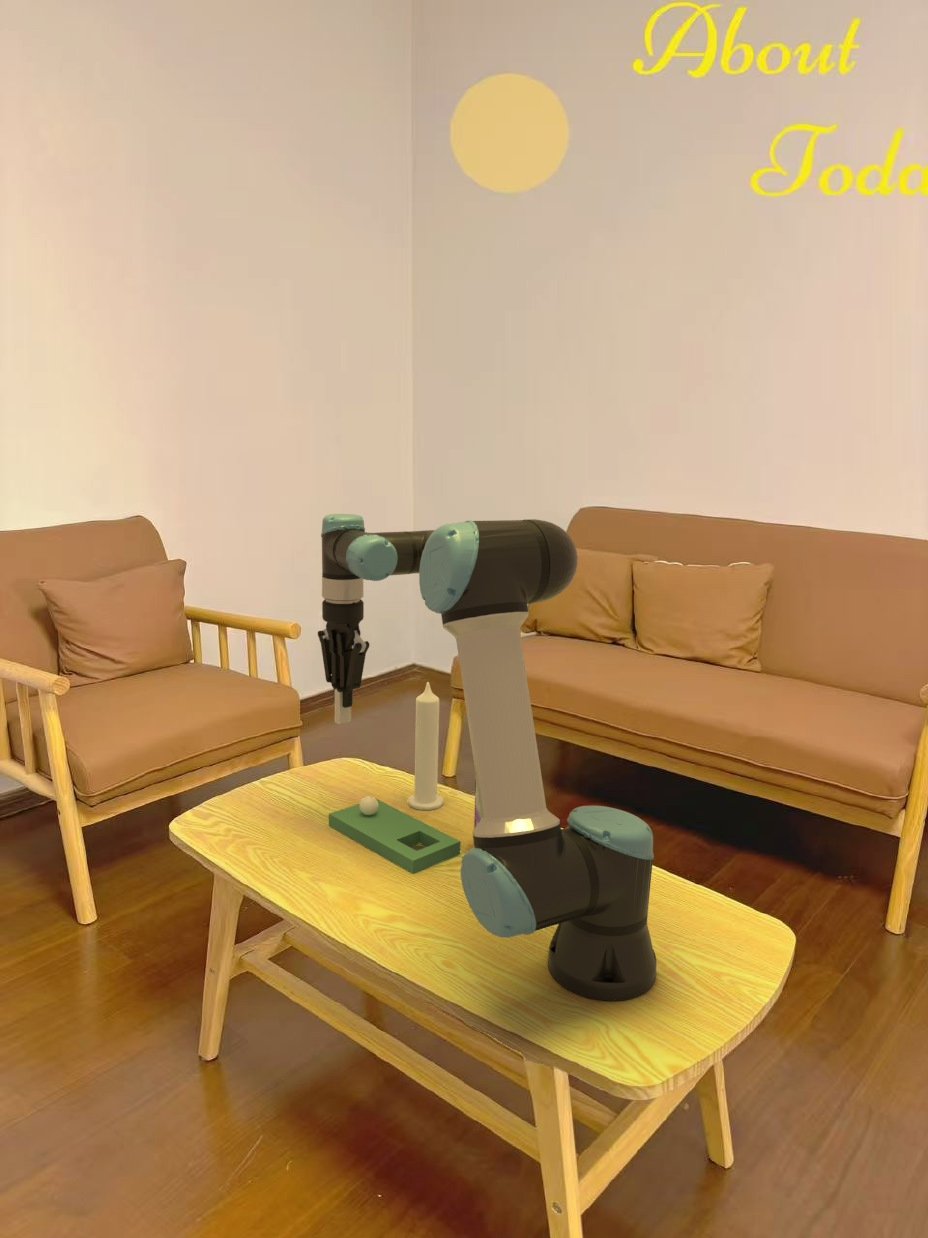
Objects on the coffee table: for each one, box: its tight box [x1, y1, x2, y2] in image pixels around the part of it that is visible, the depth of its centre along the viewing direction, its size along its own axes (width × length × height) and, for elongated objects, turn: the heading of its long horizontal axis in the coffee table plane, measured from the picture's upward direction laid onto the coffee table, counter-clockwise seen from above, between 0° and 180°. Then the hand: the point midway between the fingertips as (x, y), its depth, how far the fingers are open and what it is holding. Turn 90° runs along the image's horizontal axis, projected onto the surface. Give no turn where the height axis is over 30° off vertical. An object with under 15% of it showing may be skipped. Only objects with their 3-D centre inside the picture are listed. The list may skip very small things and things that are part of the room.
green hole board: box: [328, 797, 461, 875], centre depth 168 cm, size 24×11×2 cm, turn 44°
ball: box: [359, 795, 378, 815], centre depth 173 cm, size 4×4×4 cm
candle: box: [407, 681, 444, 811], centre depth 182 cm, size 7×7×25 cm
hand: (342, 721), depth 175 cm, fingers closed
